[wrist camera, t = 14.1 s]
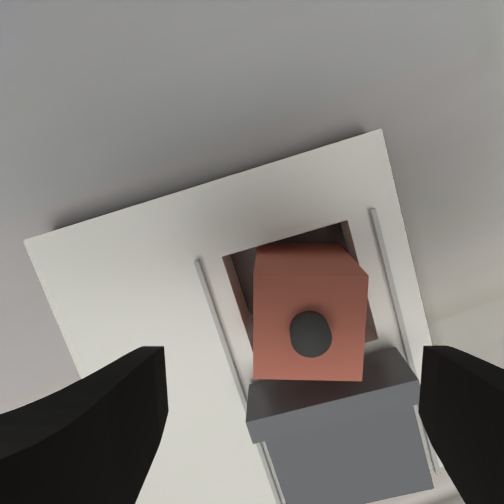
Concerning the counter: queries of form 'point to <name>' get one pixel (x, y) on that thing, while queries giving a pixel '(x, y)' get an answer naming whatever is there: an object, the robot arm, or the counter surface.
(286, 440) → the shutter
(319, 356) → the plug
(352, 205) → the socket board
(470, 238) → the counter surface
